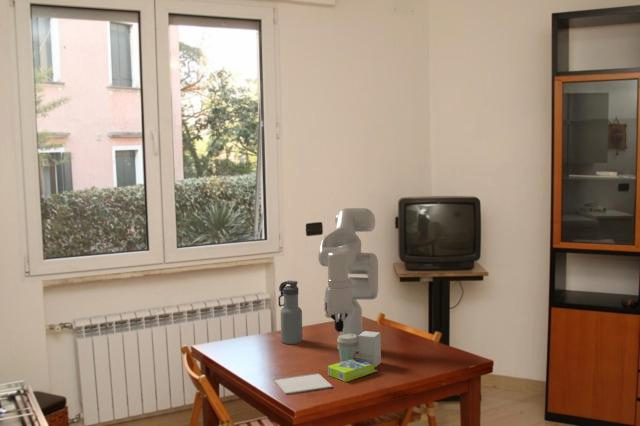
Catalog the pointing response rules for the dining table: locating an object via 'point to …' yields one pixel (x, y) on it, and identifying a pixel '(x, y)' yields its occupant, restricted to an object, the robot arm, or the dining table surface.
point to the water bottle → (290, 314)
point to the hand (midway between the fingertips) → (339, 330)
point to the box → (351, 369)
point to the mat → (302, 383)
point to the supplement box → (370, 347)
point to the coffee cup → (347, 346)
